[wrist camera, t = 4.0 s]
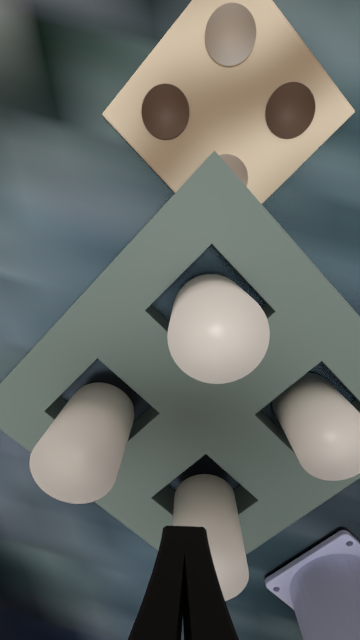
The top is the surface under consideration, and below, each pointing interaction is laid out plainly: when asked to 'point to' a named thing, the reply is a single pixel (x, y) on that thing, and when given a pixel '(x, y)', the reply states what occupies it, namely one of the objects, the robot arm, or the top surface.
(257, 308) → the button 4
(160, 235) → the grey-green board with holes
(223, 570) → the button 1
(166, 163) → the tile
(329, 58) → the top surface
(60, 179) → the top surface
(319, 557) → the robot arm
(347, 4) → the top surface
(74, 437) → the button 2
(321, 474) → the beige cylinder
